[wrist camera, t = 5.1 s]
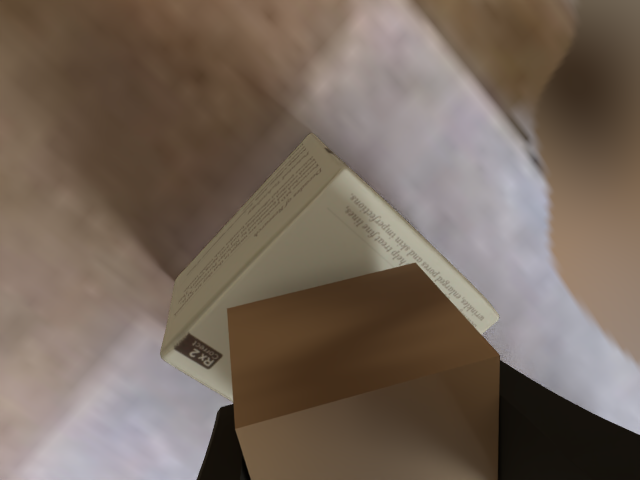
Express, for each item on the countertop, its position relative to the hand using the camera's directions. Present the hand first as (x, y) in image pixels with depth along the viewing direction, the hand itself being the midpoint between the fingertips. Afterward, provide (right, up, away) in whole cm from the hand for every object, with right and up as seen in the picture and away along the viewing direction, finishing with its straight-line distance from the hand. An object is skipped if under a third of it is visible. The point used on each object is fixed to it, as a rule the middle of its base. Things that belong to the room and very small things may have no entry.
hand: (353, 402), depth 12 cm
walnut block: (0, +1, +1) cm, 2 cm away
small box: (-1, +3, +7) cm, 8 cm away
